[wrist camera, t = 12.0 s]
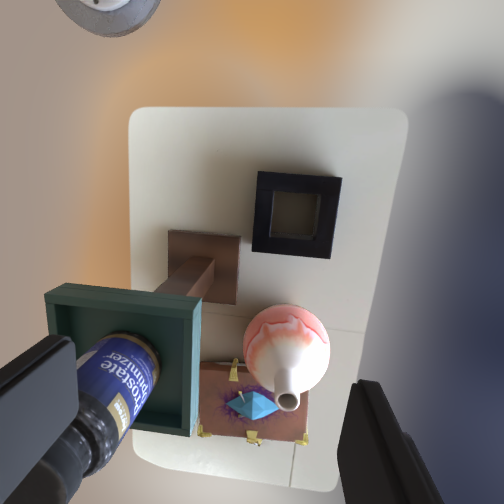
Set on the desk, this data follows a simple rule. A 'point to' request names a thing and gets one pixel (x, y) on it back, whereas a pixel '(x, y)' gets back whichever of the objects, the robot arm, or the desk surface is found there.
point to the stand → (203, 266)
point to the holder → (324, 215)
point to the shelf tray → (149, 326)
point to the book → (245, 407)
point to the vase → (286, 352)
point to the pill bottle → (94, 417)
